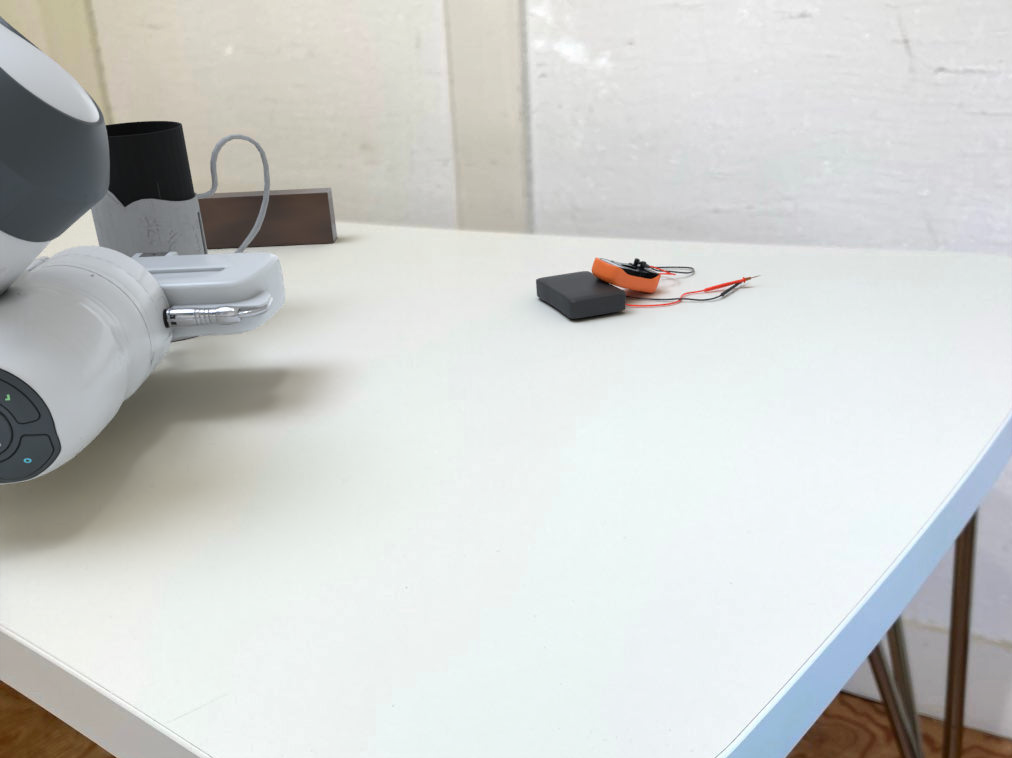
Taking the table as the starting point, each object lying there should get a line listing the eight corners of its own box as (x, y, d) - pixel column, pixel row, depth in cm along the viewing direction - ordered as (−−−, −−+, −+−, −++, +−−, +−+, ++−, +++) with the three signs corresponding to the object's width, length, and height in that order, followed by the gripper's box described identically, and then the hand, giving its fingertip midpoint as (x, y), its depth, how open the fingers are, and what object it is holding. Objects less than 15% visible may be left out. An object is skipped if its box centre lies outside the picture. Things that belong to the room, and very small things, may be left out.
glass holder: (105, 320, 87) (60, 128, 80) (273, 291, 92) (245, 108, 85) (122, 350, 80) (75, 142, 73) (304, 316, 85) (276, 120, 78)
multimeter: (710, 258, 95) (712, 219, 94) (777, 293, 85) (780, 250, 83) (518, 283, 91) (517, 243, 89) (564, 323, 81) (563, 279, 79)
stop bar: (196, 249, 107) (186, 199, 105) (202, 243, 110) (193, 194, 107) (333, 243, 107) (327, 192, 105) (337, 237, 109) (331, 187, 107)
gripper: (253, 265, 63) (296, 212, 75) (-86, 280, 64) (11, 225, 76) (270, 365, 66) (308, 299, 78) (-55, 379, 66) (34, 311, 79)
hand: (160, 263), depth 77 cm, fingers closed
